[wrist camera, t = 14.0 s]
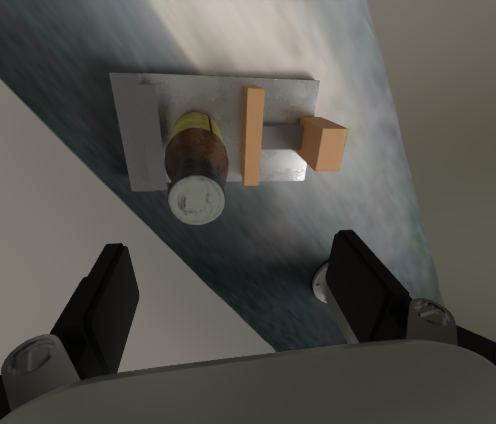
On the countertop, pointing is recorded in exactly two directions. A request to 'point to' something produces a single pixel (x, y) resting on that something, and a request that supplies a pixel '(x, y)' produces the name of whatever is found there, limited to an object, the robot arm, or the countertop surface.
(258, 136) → the sliding jaw
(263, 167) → the vise base
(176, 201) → the sauce bottle
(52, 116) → the countertop surface
